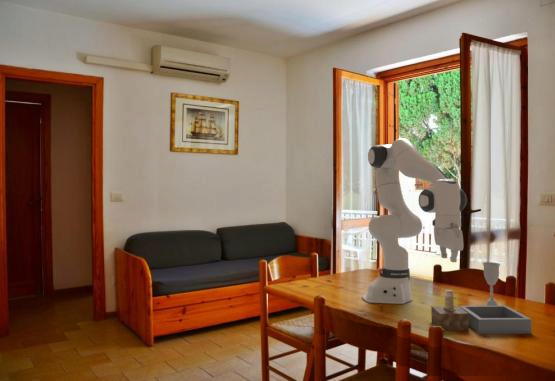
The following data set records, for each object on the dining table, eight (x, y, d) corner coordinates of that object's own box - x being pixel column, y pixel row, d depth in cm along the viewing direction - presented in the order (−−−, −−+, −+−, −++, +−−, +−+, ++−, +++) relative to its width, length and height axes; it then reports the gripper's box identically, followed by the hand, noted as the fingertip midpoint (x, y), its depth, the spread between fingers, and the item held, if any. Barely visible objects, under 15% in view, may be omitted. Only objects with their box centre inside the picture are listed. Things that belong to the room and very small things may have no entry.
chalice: (479, 303, 193) (479, 262, 193) (494, 302, 193) (493, 262, 193) (489, 307, 186) (488, 265, 186) (504, 307, 186) (503, 264, 186)
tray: (479, 333, 153) (478, 319, 153) (459, 318, 171) (459, 305, 171) (531, 333, 153) (531, 319, 153) (506, 318, 171) (506, 305, 171)
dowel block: (440, 330, 158) (440, 313, 158) (431, 321, 168) (431, 306, 168) (468, 330, 157) (468, 313, 157) (458, 321, 167) (457, 306, 167)
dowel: (446, 327, 161) (446, 291, 161) (444, 324, 164) (443, 289, 164) (455, 327, 161) (454, 291, 161) (452, 324, 164) (451, 289, 164)
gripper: (467, 224, 152) (468, 264, 152) (447, 220, 172) (447, 255, 172) (449, 224, 152) (450, 264, 152) (430, 220, 172) (431, 256, 172)
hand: (448, 260), depth 162 cm, fingers open, 8 cm apart
